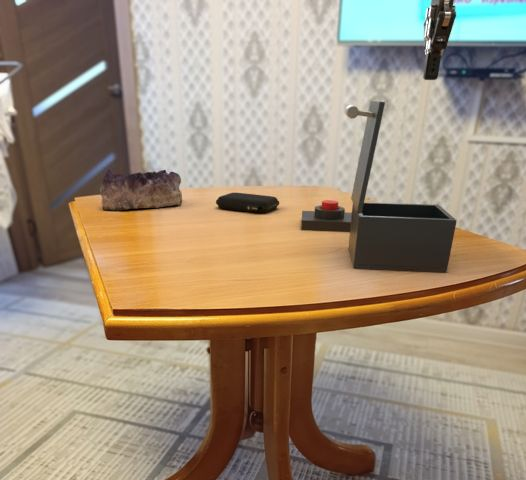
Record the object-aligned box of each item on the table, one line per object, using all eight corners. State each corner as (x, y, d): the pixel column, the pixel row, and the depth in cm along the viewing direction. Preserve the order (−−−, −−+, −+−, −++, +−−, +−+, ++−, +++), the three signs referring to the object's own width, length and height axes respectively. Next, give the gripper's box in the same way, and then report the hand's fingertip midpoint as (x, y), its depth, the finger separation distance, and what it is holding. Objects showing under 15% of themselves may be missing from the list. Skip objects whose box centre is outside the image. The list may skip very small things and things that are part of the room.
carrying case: (210, 209, 126) (264, 216, 121) (210, 197, 125) (264, 203, 120) (231, 202, 135) (281, 208, 130) (230, 190, 134) (282, 196, 128)
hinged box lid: (375, 100, 86) (345, 96, 86) (385, 102, 75) (351, 97, 75) (355, 199, 93) (328, 195, 93) (361, 213, 82) (331, 209, 82)
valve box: (430, 251, 97) (438, 204, 93) (446, 272, 85) (456, 220, 81) (348, 248, 98) (352, 201, 94) (353, 268, 86) (358, 216, 82)
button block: (353, 222, 118) (355, 204, 116) (357, 232, 109) (359, 213, 107) (301, 220, 118) (302, 202, 117) (301, 230, 109) (302, 211, 108)
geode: (112, 215, 118) (103, 170, 115) (97, 213, 127) (88, 171, 124) (190, 204, 128) (184, 162, 125) (171, 202, 138) (165, 163, 134)
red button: (337, 208, 113) (338, 200, 113) (338, 211, 110) (338, 203, 109) (321, 207, 114) (321, 199, 113) (321, 211, 110) (322, 203, 110)
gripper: (485, -54, 75) (462, 79, 83) (461, -34, 87) (442, 81, 94) (433, -54, 75) (415, 78, 83) (416, -35, 87) (402, 80, 95)
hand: (430, 79), depth 89 cm, fingers closed
